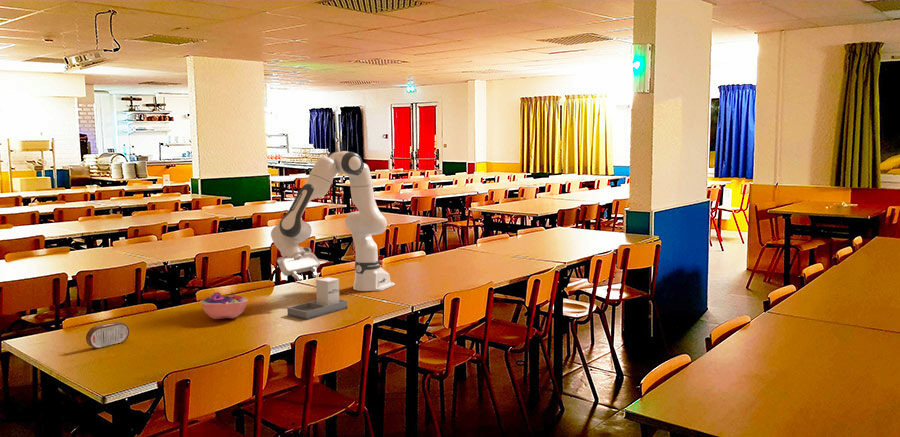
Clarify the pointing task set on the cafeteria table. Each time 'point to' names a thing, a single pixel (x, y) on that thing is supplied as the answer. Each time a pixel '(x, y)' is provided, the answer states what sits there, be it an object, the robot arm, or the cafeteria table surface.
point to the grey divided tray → (315, 309)
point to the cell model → (224, 305)
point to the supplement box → (327, 291)
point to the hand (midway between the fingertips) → (308, 278)
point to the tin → (107, 334)
